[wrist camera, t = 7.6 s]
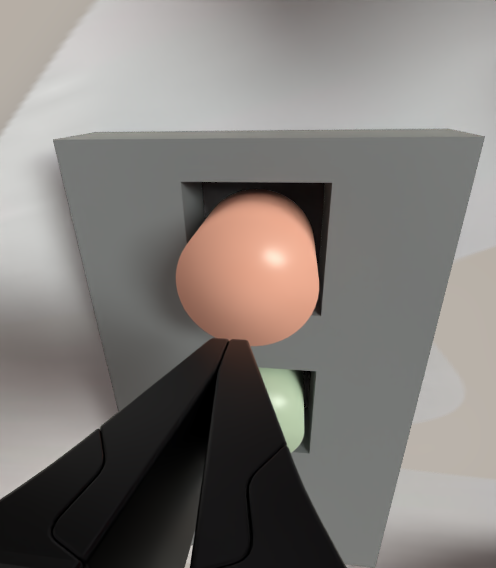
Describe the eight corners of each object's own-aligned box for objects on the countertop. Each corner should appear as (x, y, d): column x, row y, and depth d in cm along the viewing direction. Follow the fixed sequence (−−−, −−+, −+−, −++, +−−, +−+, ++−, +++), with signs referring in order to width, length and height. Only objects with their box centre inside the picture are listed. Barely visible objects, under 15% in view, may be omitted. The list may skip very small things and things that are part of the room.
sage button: (305, 342, 18) (306, 393, 15) (301, 407, 20) (301, 465, 17) (219, 337, 19) (203, 386, 16) (223, 401, 21) (209, 456, 18)
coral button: (318, 189, 13) (324, 218, 10) (310, 296, 15) (314, 349, 12) (198, 188, 14) (167, 216, 10) (206, 292, 16) (182, 342, 12)
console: (448, 128, 14) (484, 136, 11) (366, 517, 25) (375, 567, 22) (95, 132, 15) (53, 139, 13) (164, 495, 26) (149, 540, 24)
